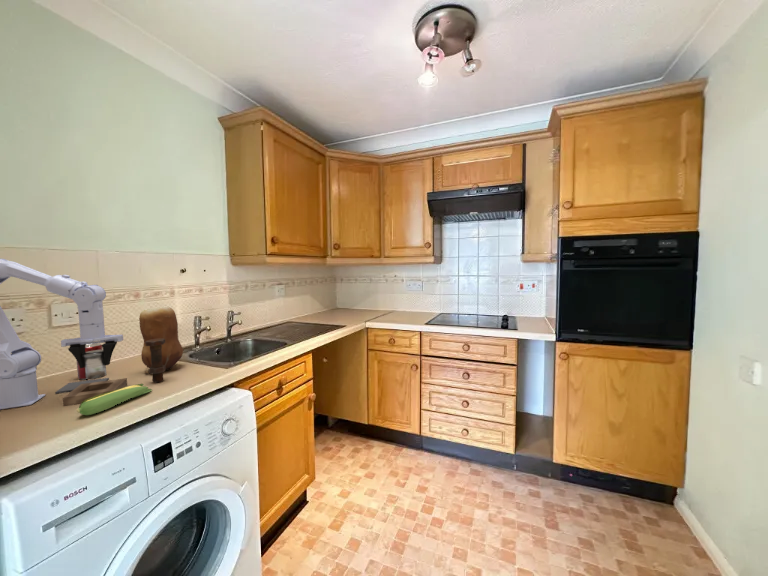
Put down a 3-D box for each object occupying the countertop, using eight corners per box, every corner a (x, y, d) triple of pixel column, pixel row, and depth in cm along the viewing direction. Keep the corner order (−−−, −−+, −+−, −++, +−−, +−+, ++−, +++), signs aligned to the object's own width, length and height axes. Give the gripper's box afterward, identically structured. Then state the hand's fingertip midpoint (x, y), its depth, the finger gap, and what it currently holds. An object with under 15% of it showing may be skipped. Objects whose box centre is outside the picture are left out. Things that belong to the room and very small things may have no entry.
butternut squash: (150, 366, 129) (146, 306, 127) (188, 362, 133) (184, 304, 131) (135, 377, 116) (130, 310, 114) (177, 373, 120) (173, 308, 118)
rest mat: (55, 393, 102) (55, 392, 101) (69, 384, 110) (68, 382, 110) (99, 387, 106) (99, 386, 106) (109, 379, 114) (108, 377, 114)
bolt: (165, 377, 115) (162, 337, 114) (170, 380, 112) (167, 339, 111) (146, 382, 110) (143, 340, 109) (150, 385, 107) (147, 342, 106)
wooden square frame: (63, 406, 92) (62, 397, 92) (81, 391, 103) (81, 384, 103) (115, 398, 97) (114, 390, 97) (127, 385, 108) (126, 378, 108)
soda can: (105, 376, 117) (103, 345, 117) (78, 382, 112) (75, 349, 111) (103, 372, 122) (100, 342, 122) (77, 377, 117) (74, 345, 116)
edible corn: (72, 418, 85) (70, 402, 84) (146, 390, 104) (145, 377, 104) (85, 421, 83) (84, 404, 83) (158, 391, 102) (157, 378, 102)
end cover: (81, 380, 96) (78, 355, 96) (88, 375, 101) (86, 351, 101) (104, 377, 98) (102, 352, 98) (110, 372, 104) (108, 348, 103)
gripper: (54, 328, 92) (58, 373, 93) (116, 323, 98) (119, 366, 99) (66, 324, 98) (69, 366, 99) (124, 320, 104) (127, 360, 105)
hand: (95, 365), depth 100 cm, fingers closed on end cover, 5 cm apart
